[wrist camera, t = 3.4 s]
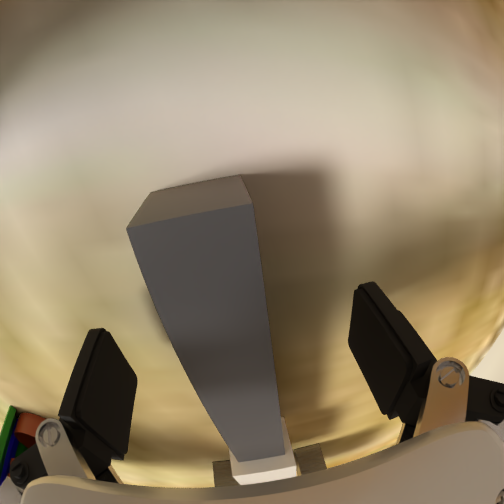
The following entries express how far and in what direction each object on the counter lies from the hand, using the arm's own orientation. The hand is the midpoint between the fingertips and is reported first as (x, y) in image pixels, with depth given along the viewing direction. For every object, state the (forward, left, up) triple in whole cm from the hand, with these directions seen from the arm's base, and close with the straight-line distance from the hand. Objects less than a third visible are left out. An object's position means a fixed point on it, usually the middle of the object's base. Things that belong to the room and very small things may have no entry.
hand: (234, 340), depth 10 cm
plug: (+6, 0, -2) cm, 6 cm away
